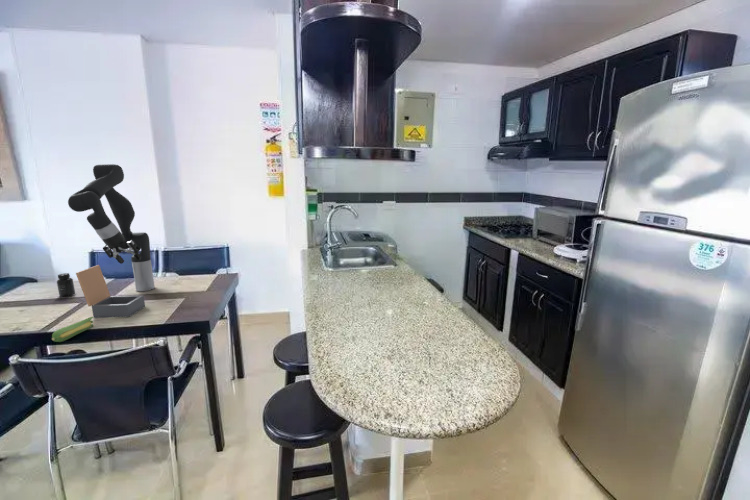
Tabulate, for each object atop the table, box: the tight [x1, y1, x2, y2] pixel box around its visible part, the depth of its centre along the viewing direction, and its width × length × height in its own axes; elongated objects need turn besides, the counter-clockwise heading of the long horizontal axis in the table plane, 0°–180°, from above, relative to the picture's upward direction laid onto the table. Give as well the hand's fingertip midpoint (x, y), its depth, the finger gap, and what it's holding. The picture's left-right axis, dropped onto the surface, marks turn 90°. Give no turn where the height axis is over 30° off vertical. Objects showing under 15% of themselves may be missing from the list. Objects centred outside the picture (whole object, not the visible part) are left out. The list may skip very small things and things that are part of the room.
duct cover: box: [75, 264, 111, 307], centre depth 167 cm, size 14×16×1 cm
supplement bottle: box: [56, 272, 76, 298], centre depth 193 cm, size 7×7×12 cm
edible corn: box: [51, 316, 94, 343], centre depth 148 cm, size 5×20×5 cm
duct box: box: [91, 294, 146, 319], centre depth 170 cm, size 13×16×6 cm
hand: (131, 261), depth 166 cm, fingers open, 8 cm apart
